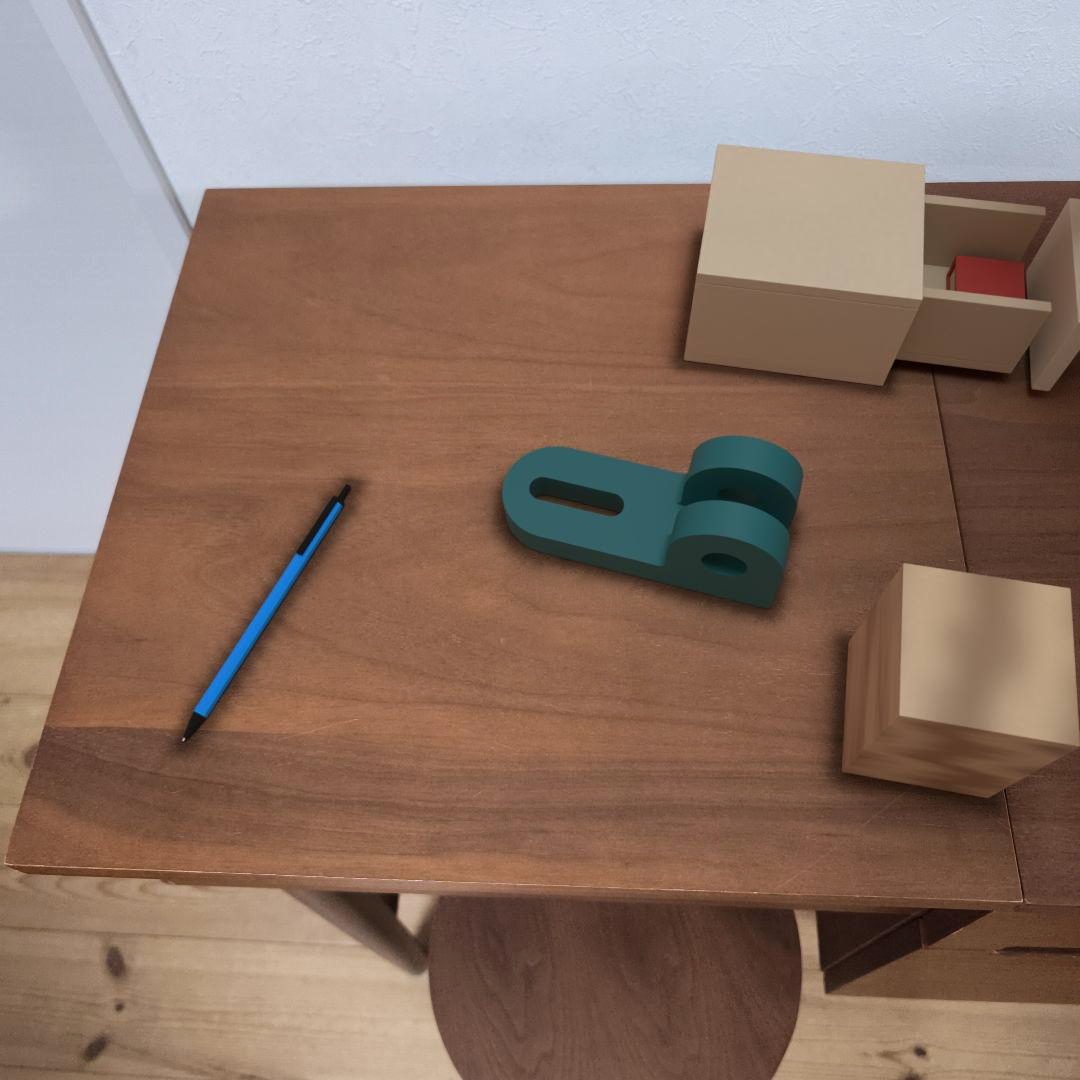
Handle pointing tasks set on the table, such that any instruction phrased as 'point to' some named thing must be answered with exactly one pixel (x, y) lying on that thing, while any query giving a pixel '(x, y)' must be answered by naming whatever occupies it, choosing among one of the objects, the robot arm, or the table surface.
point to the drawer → (994, 321)
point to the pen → (265, 613)
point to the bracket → (665, 515)
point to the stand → (961, 682)
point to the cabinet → (808, 264)
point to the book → (986, 277)
